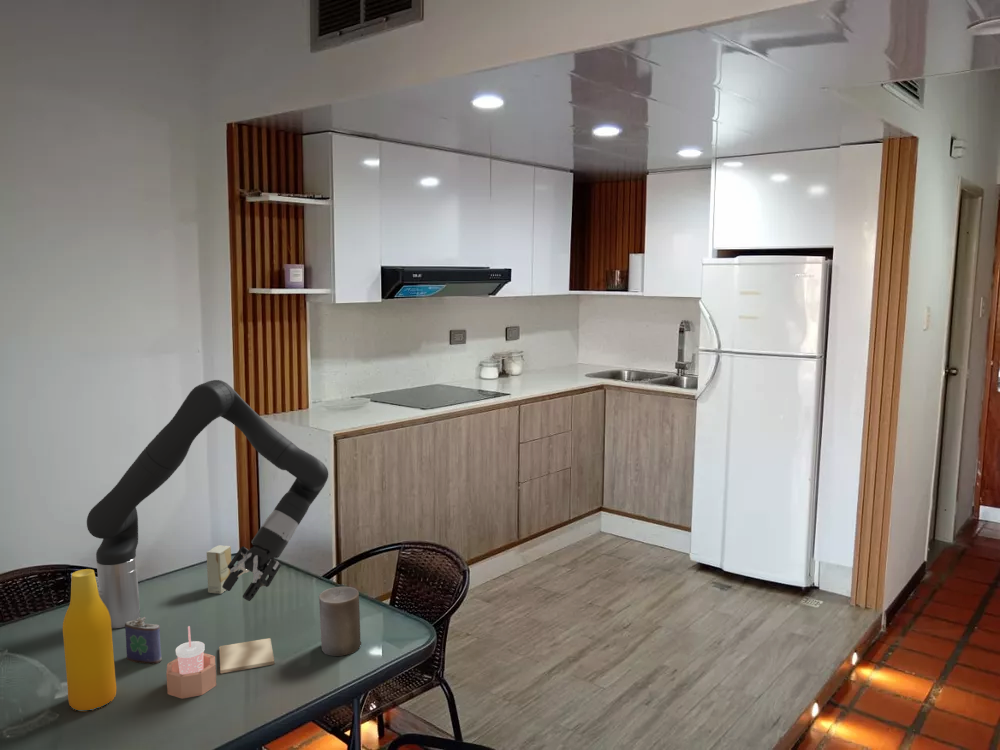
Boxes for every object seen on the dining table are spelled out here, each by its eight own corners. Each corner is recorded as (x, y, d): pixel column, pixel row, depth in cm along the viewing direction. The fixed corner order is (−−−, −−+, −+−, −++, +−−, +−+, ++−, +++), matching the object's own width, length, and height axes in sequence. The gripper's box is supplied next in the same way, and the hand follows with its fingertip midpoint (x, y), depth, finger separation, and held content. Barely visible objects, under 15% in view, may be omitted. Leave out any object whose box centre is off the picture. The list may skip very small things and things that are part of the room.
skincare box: (221, 594, 221) (219, 553, 219) (207, 593, 222) (205, 552, 220) (233, 585, 227) (231, 545, 225) (220, 584, 228) (217, 544, 226)
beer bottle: (66, 716, 162) (55, 584, 158) (71, 694, 170) (60, 568, 166) (115, 706, 166) (106, 577, 161) (117, 685, 174) (108, 561, 170)
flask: (164, 659, 185) (161, 617, 183) (155, 665, 182) (152, 622, 181) (131, 654, 188) (128, 612, 186) (122, 660, 185) (119, 618, 183)
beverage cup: (189, 695, 170) (185, 635, 168) (171, 687, 173) (167, 628, 171) (212, 682, 175) (209, 624, 173) (195, 675, 178) (191, 617, 176)
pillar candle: (368, 642, 194) (366, 584, 192) (345, 660, 185) (343, 600, 183) (336, 634, 198) (334, 578, 196) (312, 651, 189) (309, 593, 187)
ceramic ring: (167, 701, 168) (165, 679, 167) (169, 678, 177) (167, 657, 176) (216, 692, 171) (215, 671, 170) (215, 670, 180) (214, 649, 180)
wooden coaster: (220, 673, 179) (220, 670, 179) (219, 649, 190) (219, 646, 190) (274, 664, 183) (274, 661, 183) (270, 641, 194) (270, 638, 194)
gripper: (248, 519, 189) (207, 579, 182) (283, 532, 181) (242, 595, 173) (268, 534, 194) (229, 593, 187) (303, 547, 185) (263, 609, 178)
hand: (235, 594), depth 180 cm, fingers open, 8 cm apart
